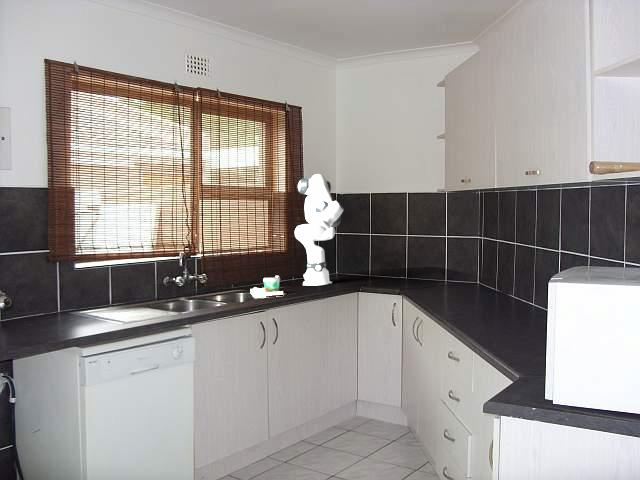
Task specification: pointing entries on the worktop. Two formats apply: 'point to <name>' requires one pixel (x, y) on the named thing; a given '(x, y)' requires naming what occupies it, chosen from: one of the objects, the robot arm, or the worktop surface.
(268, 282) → the food container
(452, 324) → the worktop surface
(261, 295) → the white cutting board
